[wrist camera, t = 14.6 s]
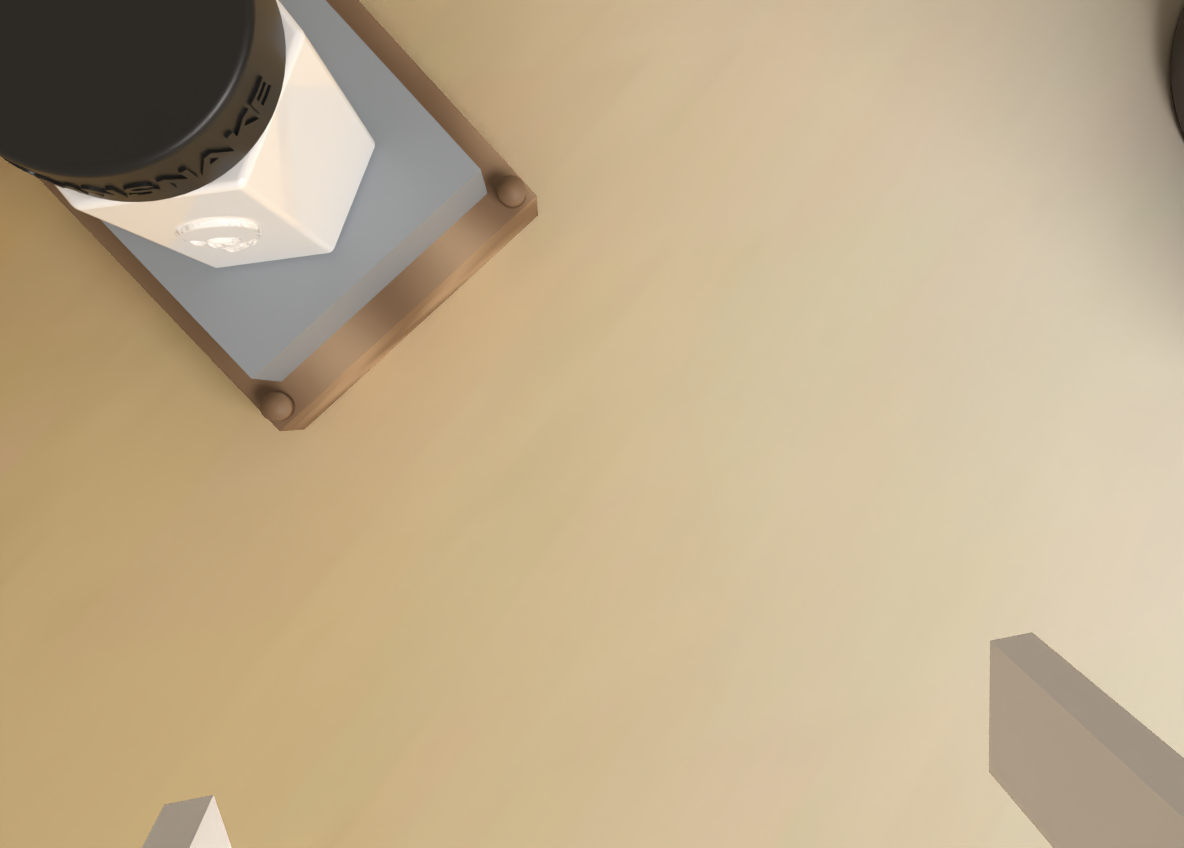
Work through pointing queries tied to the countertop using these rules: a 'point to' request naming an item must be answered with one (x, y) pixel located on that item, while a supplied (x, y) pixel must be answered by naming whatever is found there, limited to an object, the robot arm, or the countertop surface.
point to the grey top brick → (368, 238)
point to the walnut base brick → (404, 295)
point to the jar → (183, 122)
